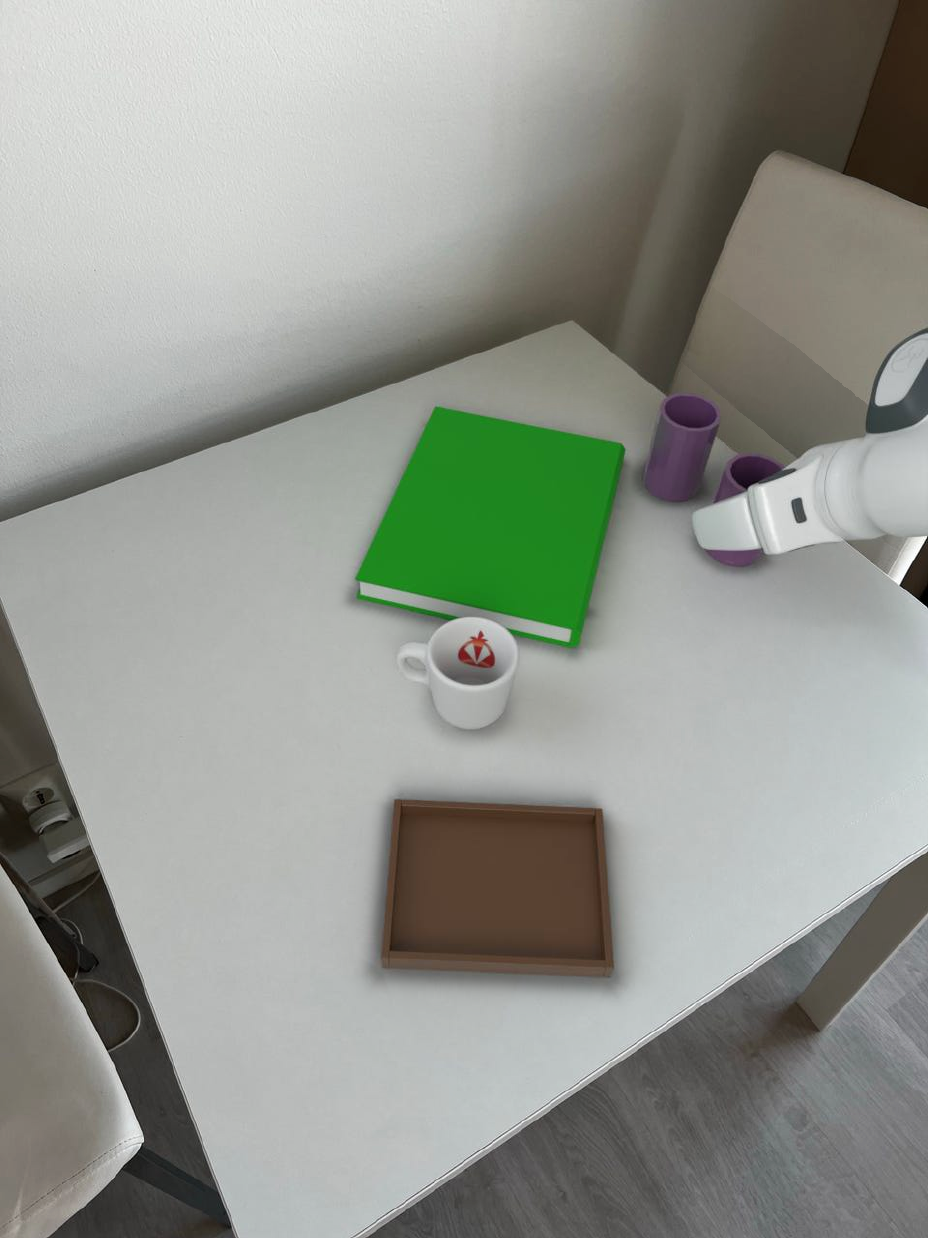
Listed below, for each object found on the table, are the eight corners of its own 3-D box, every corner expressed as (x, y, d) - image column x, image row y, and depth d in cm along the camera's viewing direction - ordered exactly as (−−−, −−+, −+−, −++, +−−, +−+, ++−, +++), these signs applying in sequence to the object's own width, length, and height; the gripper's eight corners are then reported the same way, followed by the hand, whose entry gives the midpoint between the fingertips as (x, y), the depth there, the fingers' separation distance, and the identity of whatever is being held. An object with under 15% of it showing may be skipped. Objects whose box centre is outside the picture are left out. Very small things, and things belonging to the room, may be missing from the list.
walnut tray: (598, 819, 80) (602, 808, 78) (609, 978, 71) (614, 968, 70) (394, 810, 80) (394, 798, 78) (381, 968, 71) (380, 958, 70)
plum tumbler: (756, 525, 103) (784, 454, 96) (766, 568, 99) (796, 497, 92) (698, 522, 103) (721, 451, 96) (706, 565, 99) (730, 494, 92)
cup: (385, 723, 85) (383, 670, 79) (409, 655, 90) (409, 600, 84) (502, 750, 84) (509, 698, 78) (520, 680, 89) (528, 625, 83)
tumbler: (695, 465, 109) (716, 394, 102) (702, 503, 105) (725, 432, 98) (640, 462, 109) (657, 391, 102) (645, 500, 105) (663, 429, 98)
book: (356, 598, 94) (355, 578, 92) (434, 426, 112) (435, 406, 110) (577, 649, 91) (582, 629, 89) (622, 464, 109) (626, 444, 107)
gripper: (915, 425, 88) (810, 445, 100) (742, 491, 81) (653, 503, 94) (931, 490, 89) (824, 502, 101) (761, 561, 82) (670, 564, 95)
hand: (741, 503), depth 98 cm, fingers closed on plum tumbler, 6 cm apart
